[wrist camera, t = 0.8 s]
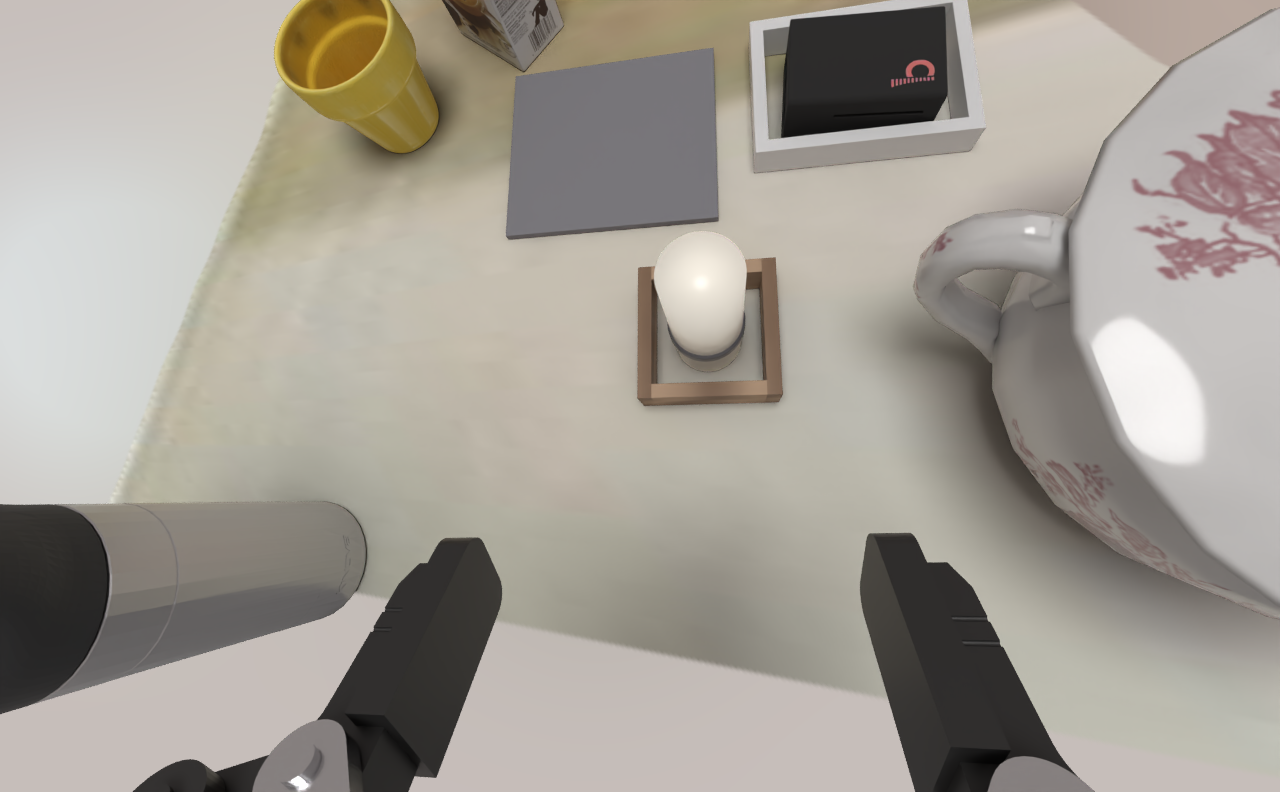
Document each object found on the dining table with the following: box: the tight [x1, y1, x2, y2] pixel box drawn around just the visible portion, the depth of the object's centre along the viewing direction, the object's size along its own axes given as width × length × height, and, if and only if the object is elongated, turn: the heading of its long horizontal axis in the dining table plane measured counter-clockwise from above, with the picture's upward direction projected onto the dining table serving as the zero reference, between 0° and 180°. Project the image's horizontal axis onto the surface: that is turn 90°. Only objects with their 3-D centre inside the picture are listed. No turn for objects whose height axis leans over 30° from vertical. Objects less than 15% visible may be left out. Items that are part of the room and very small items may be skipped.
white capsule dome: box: [654, 231, 747, 372], centre depth 33 cm, size 5×5×12 cm
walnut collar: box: [637, 257, 783, 406], centre depth 37 cm, size 10×10×3 cm
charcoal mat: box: [506, 48, 718, 239], centre depth 43 cm, size 18×16×1 cm
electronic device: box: [781, 6, 948, 138], centre depth 38 cm, size 7×11×5 cm
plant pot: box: [274, 0, 439, 153], centre depth 43 cm, size 10×10×10 cm
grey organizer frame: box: [749, 0, 986, 173], centre depth 39 cm, size 16×12×2 cm
